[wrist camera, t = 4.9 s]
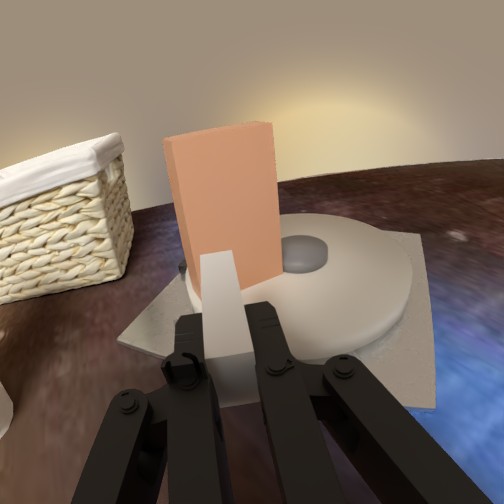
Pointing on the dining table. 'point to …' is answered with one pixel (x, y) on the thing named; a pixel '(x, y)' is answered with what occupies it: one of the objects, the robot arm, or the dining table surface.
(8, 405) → the foam cup
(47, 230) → the storage basket
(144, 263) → the dining table surface
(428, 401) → the base plate
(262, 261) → the dial
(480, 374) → the dining table surface
